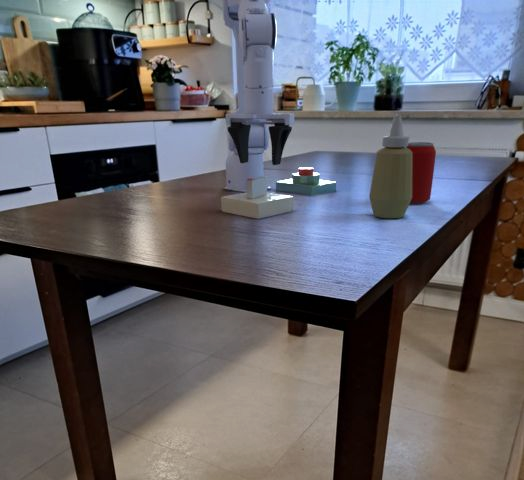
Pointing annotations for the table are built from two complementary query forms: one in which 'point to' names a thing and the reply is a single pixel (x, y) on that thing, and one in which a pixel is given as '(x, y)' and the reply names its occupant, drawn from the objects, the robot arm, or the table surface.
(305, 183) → the button box
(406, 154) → the squeeze bottle
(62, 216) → the table surface
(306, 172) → the button
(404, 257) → the table surface
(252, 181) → the block
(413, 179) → the beverage can
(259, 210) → the base
